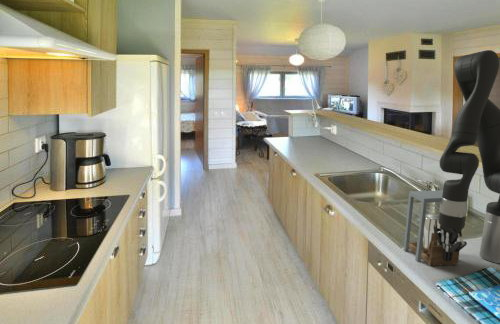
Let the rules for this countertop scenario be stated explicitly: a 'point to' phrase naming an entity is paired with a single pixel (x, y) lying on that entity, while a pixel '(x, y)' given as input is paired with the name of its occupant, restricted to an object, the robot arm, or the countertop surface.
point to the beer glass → (430, 232)
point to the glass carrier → (434, 255)
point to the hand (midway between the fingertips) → (446, 260)
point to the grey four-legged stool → (424, 198)
